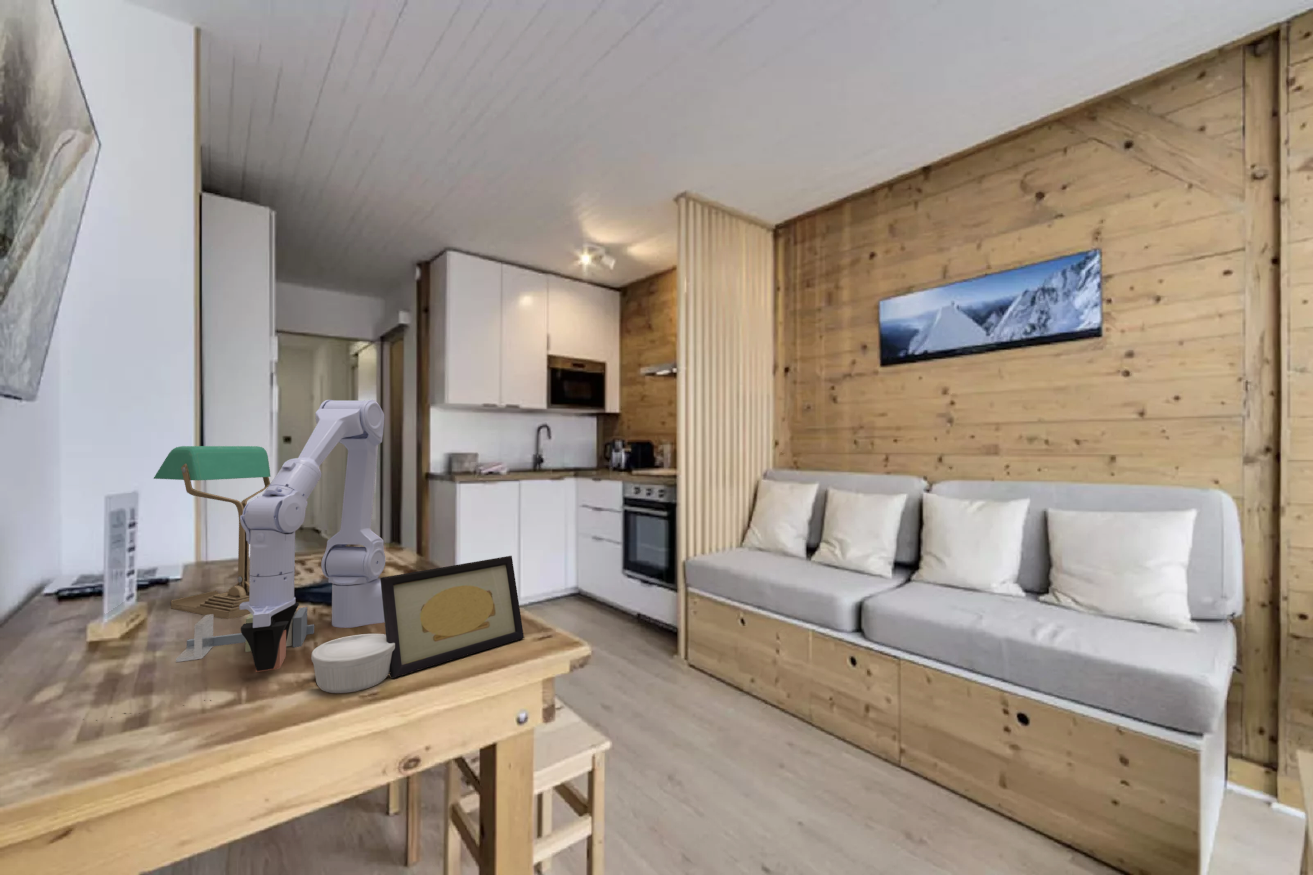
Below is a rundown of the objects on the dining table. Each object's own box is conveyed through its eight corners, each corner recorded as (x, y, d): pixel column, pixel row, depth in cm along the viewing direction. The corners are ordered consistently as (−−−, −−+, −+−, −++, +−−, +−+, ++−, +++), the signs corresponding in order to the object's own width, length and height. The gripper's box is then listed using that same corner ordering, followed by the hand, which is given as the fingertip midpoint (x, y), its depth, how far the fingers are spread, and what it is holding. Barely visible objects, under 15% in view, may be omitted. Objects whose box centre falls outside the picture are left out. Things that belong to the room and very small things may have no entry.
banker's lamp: (208, 625, 105) (211, 446, 105) (145, 612, 112) (148, 446, 113) (288, 603, 119) (291, 446, 120) (228, 593, 127) (230, 446, 127)
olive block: (272, 640, 94) (273, 609, 94) (267, 649, 90) (267, 616, 90) (251, 643, 92) (252, 611, 93) (245, 652, 88) (245, 619, 89)
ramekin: (377, 659, 89) (377, 627, 89) (409, 678, 81) (409, 643, 82) (299, 682, 80) (299, 647, 80) (327, 706, 73) (328, 667, 73)
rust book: (285, 664, 86) (286, 629, 87) (279, 676, 82) (280, 640, 82) (262, 667, 85) (263, 632, 85) (255, 679, 81) (256, 643, 81)
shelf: (314, 638, 98) (314, 605, 98) (307, 653, 91) (307, 617, 91) (188, 654, 90) (188, 618, 90) (169, 672, 83) (170, 633, 83)
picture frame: (393, 679, 81) (389, 578, 82) (371, 669, 87) (368, 575, 88) (524, 639, 98) (520, 555, 99) (498, 633, 104) (494, 554, 105)
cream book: (296, 637, 95) (296, 606, 95) (291, 646, 91) (292, 613, 91) (275, 640, 94) (276, 609, 94) (270, 649, 90) (270, 616, 90)
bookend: (212, 646, 91) (213, 614, 91) (201, 658, 86) (202, 624, 86) (188, 649, 89) (189, 616, 89) (176, 662, 84) (176, 627, 84)
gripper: (252, 565, 89) (251, 648, 88) (227, 586, 76) (225, 683, 75) (303, 561, 92) (301, 641, 91) (287, 581, 79) (285, 674, 78)
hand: (271, 660), depth 84 cm, fingers open, 7 cm apart
